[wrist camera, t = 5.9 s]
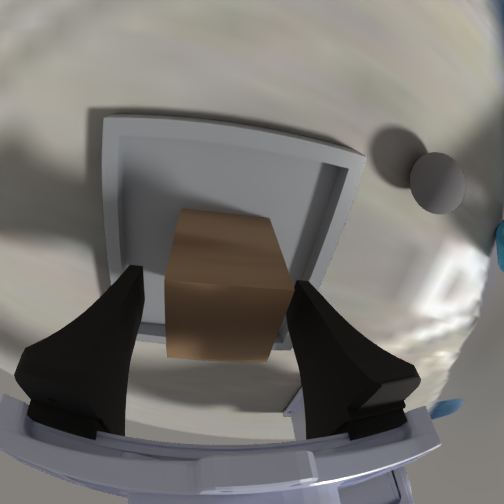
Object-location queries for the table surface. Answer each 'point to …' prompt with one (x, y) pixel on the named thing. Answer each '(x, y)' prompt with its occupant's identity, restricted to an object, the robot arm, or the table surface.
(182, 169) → the tray
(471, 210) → the table surface
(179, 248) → the walnut block
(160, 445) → the robot arm
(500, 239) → the data package
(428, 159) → the rubber ball
